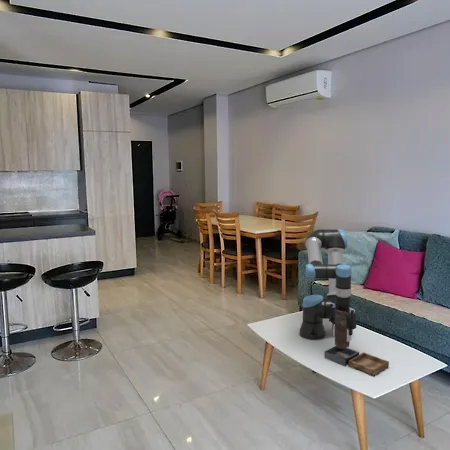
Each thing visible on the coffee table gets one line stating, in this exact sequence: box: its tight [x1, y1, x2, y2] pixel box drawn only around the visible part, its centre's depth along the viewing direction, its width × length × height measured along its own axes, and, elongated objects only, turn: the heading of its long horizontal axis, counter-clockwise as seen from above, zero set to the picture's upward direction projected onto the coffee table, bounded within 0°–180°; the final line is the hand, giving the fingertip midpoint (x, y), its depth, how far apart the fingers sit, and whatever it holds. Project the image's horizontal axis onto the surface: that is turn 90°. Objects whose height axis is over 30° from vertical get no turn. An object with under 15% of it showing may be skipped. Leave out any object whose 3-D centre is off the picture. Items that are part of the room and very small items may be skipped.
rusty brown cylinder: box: [334, 308, 350, 348], centre depth 205 cm, size 8×7×20 cm
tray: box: [348, 352, 390, 377], centre depth 197 cm, size 14×14×3 cm
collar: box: [323, 345, 360, 367], centre depth 206 cm, size 12×12×4 cm
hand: (342, 338), depth 206 cm, fingers closed on rusty brown cylinder, 7 cm apart
